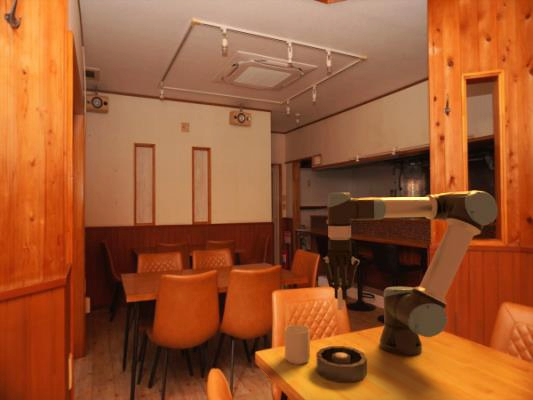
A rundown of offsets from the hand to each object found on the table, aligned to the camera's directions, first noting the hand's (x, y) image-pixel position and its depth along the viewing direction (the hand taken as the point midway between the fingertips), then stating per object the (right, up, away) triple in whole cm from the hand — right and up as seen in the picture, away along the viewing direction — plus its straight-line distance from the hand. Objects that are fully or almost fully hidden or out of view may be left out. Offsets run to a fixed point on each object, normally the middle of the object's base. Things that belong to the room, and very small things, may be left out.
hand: (341, 308), depth 122 cm
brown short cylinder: (0, -21, -1) cm, 21 cm away
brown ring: (0, -21, -1) cm, 21 cm away
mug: (-14, -21, +10) cm, 27 cm away
